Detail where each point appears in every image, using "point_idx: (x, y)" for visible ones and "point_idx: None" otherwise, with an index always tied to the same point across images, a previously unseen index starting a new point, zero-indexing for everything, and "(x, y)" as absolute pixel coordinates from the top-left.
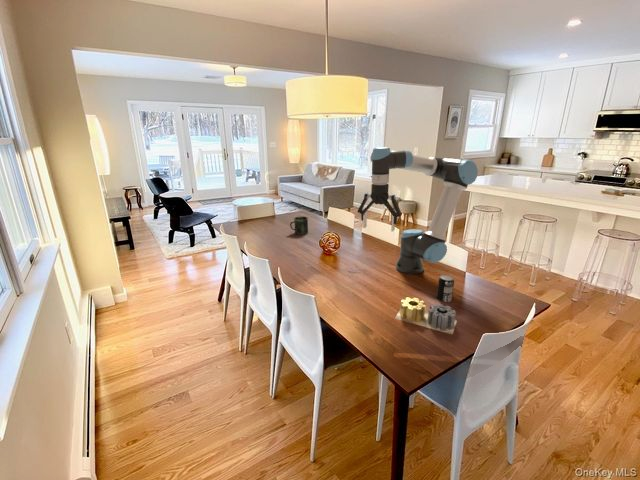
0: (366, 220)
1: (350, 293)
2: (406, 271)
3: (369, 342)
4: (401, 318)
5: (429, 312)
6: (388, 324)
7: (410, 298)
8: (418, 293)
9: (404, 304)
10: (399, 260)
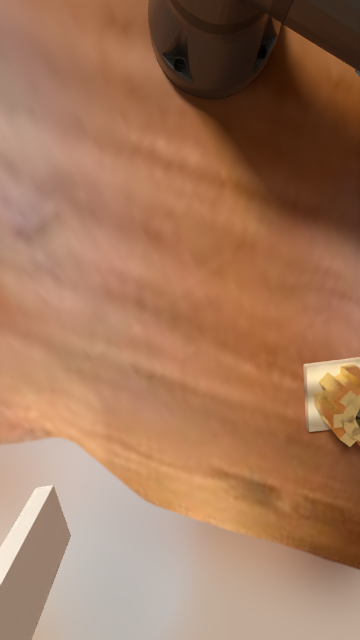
0: (14, 566)
1: (131, 376)
2: (224, 93)
3: (288, 522)
4: (325, 422)
5: None
6: (298, 448)
7: (355, 395)
8: (319, 244)
9: (348, 437)
10: (175, 41)
